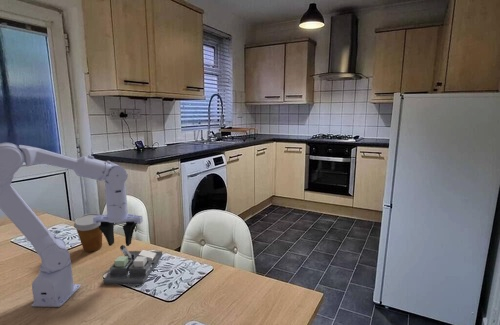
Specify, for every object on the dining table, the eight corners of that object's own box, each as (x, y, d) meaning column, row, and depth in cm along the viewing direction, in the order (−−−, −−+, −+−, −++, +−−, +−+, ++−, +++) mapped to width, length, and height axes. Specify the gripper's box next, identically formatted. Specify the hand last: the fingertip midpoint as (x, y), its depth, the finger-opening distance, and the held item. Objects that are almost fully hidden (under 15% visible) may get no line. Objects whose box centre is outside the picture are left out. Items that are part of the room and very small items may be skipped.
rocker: (152, 260, 96) (152, 258, 96) (138, 257, 96) (138, 254, 96) (155, 255, 99) (156, 253, 99) (142, 251, 99) (142, 249, 99)
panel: (143, 284, 86) (143, 274, 86) (103, 284, 86) (102, 274, 86) (162, 255, 104) (162, 246, 103) (129, 254, 104) (128, 246, 104)
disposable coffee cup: (87, 258, 103) (82, 229, 99) (73, 248, 108) (68, 220, 104) (112, 245, 111) (108, 217, 107) (98, 236, 115) (93, 210, 111)
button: (124, 267, 90) (123, 261, 90) (114, 266, 90) (114, 261, 90) (128, 262, 93) (128, 256, 93) (119, 262, 93) (118, 256, 93)
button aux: (143, 267, 90) (142, 261, 90) (133, 267, 90) (133, 261, 90) (146, 262, 93) (146, 256, 93) (137, 262, 93) (137, 256, 93)
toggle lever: (131, 258, 97) (122, 245, 96) (127, 260, 97) (118, 247, 96) (133, 256, 99) (124, 243, 98) (129, 258, 99) (120, 245, 98)
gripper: (145, 199, 92) (147, 239, 94) (100, 198, 92) (103, 238, 95) (136, 206, 85) (139, 249, 87) (87, 206, 85) (91, 248, 88)
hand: (120, 244), depth 91 cm, fingers open, 5 cm apart
